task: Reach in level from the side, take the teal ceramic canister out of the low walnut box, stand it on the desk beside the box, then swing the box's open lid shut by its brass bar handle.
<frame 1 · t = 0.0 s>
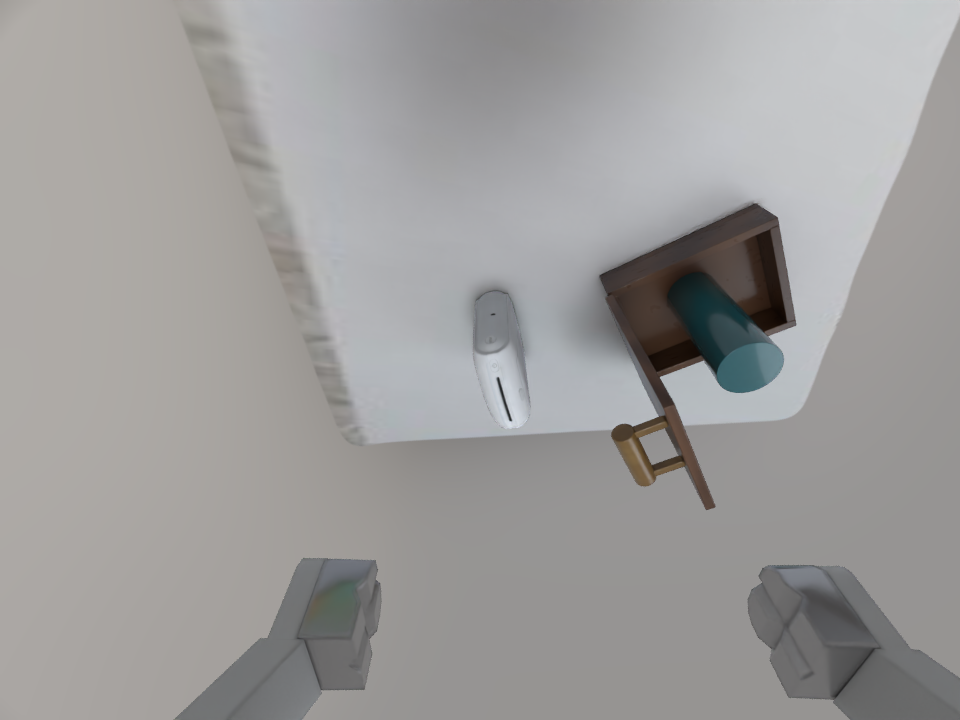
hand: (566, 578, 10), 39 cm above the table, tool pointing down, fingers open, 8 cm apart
chest: (689, 291, 49), on the table
lid: (632, 402, 41), point 13 cm above the table, hinge at 88.0°
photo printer: (500, 328, 52), on the table
canister: (692, 294, 48), point 1 cm above the table, touching chest
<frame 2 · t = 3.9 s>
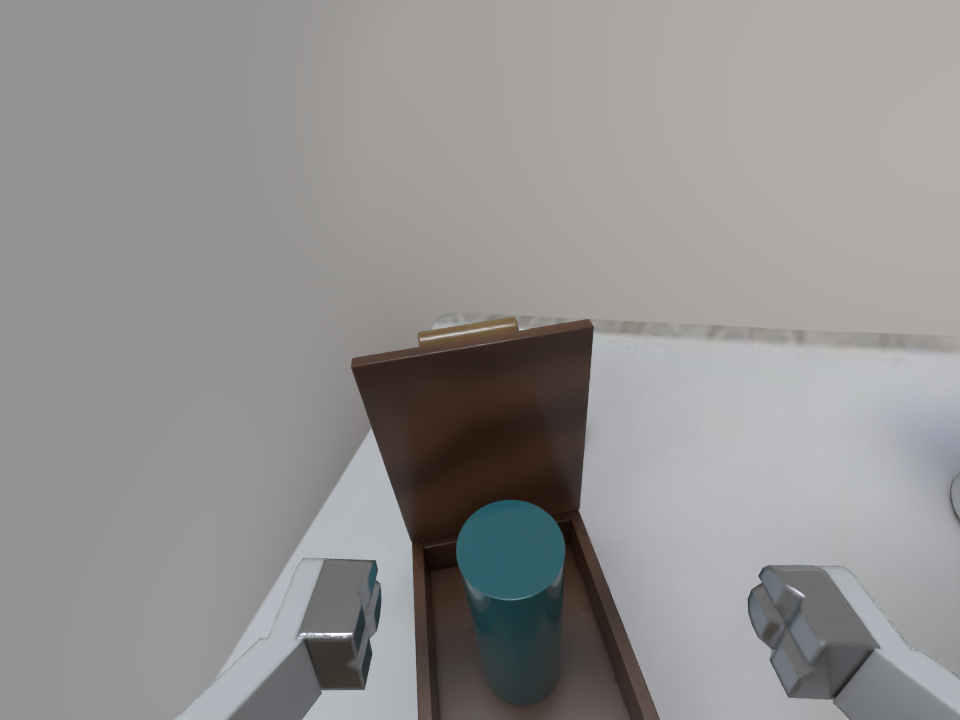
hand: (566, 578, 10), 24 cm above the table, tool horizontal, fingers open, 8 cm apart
chest: (521, 662, 30), on the table
lid: (481, 423, 30), point 13 cm above the table, hinge at 88.0°
canister: (521, 657, 29), point 1 cm above the table, touching chest
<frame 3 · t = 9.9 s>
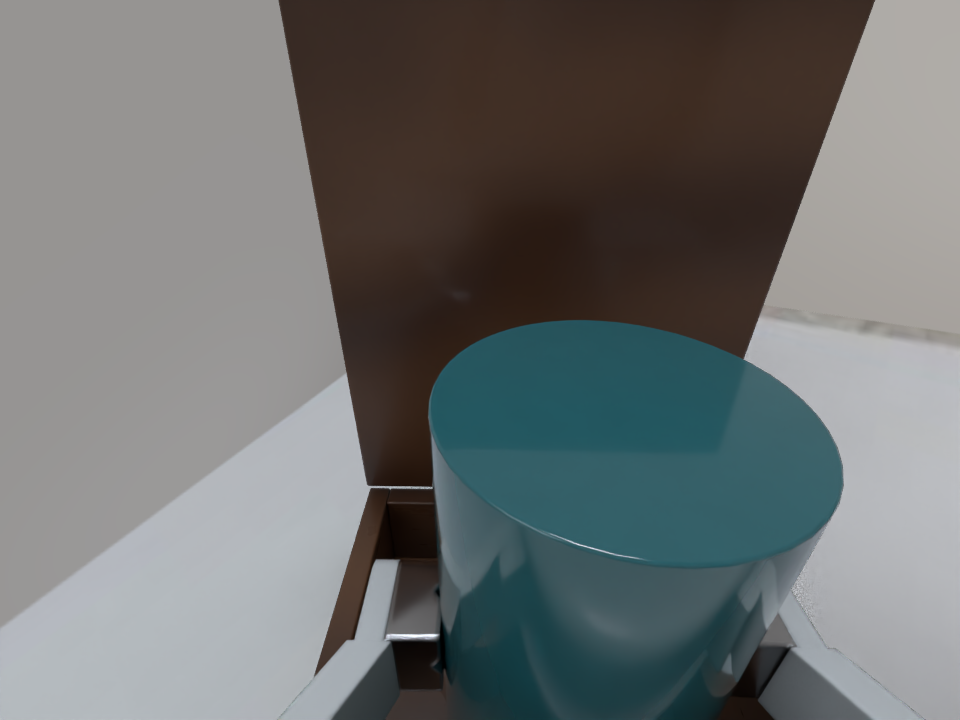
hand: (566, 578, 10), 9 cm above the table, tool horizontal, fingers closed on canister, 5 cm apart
lid: (540, 259, 15), point 13 cm above the table, hinge at 88.0°
when the fingers open (8 cm above the table, at t = 17.2 s): canister stays where it is, on the table.
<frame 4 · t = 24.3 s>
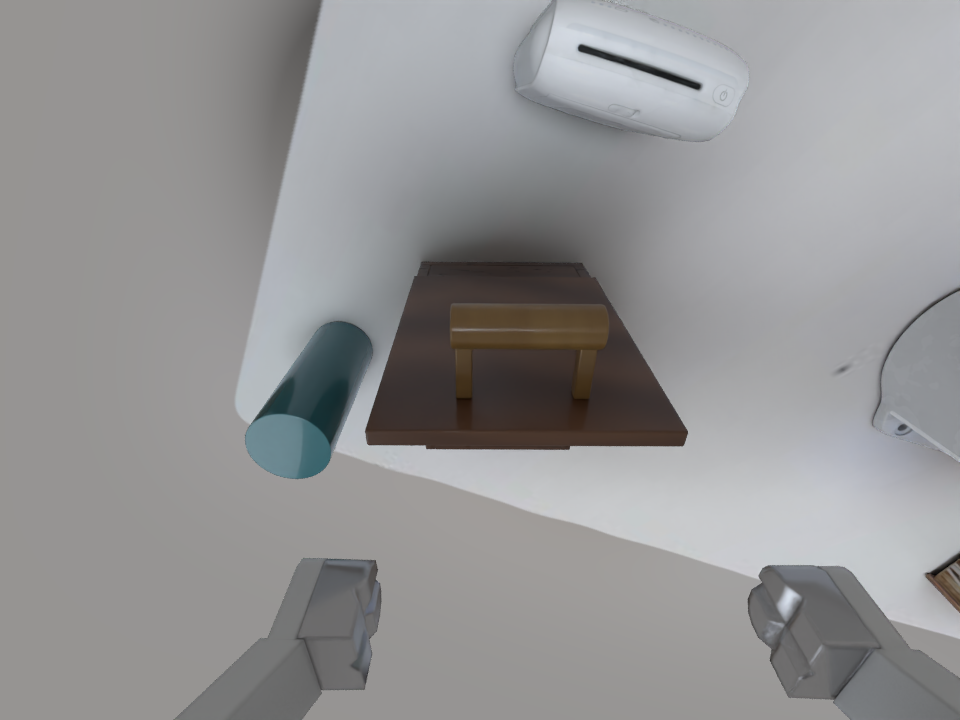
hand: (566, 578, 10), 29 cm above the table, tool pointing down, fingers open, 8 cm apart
chest: (498, 349, 39), on the table
lid: (514, 302, 24), point 13 cm above the table, hinge at 88.0°
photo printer: (589, 82, 30), on the table
canister: (342, 348, 39), on the table
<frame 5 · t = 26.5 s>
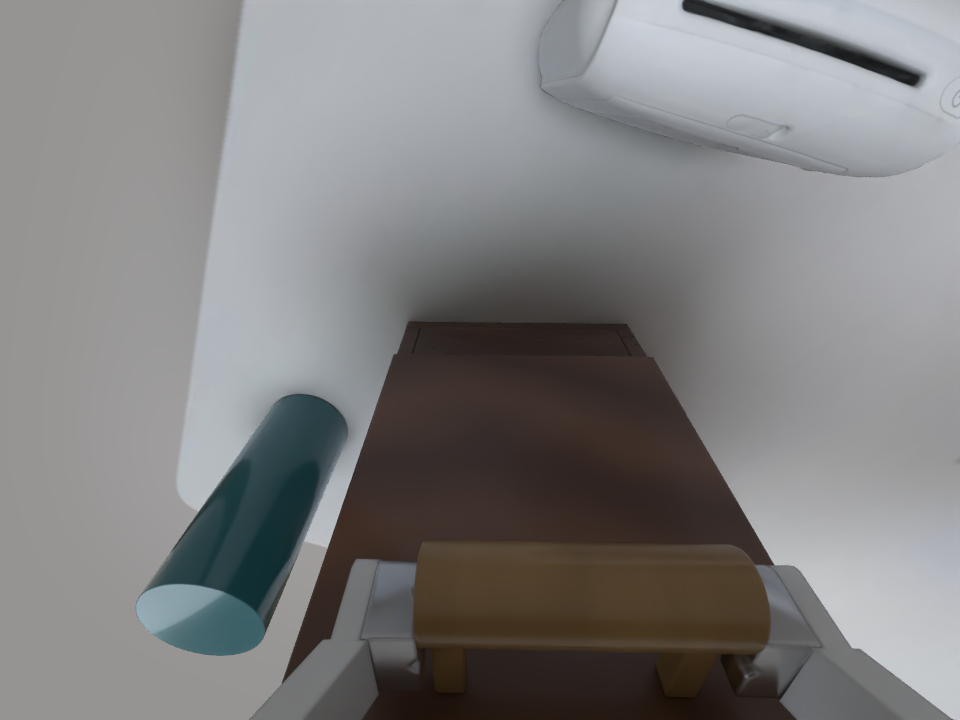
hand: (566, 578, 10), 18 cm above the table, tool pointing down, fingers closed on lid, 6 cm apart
chest: (512, 429, 30), on the table
lid: (542, 444, 14), point 13 cm above the table, hinge at 88.0°, touching gripper
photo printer: (649, 74, 20), on the table
canister: (308, 426, 30), on the table
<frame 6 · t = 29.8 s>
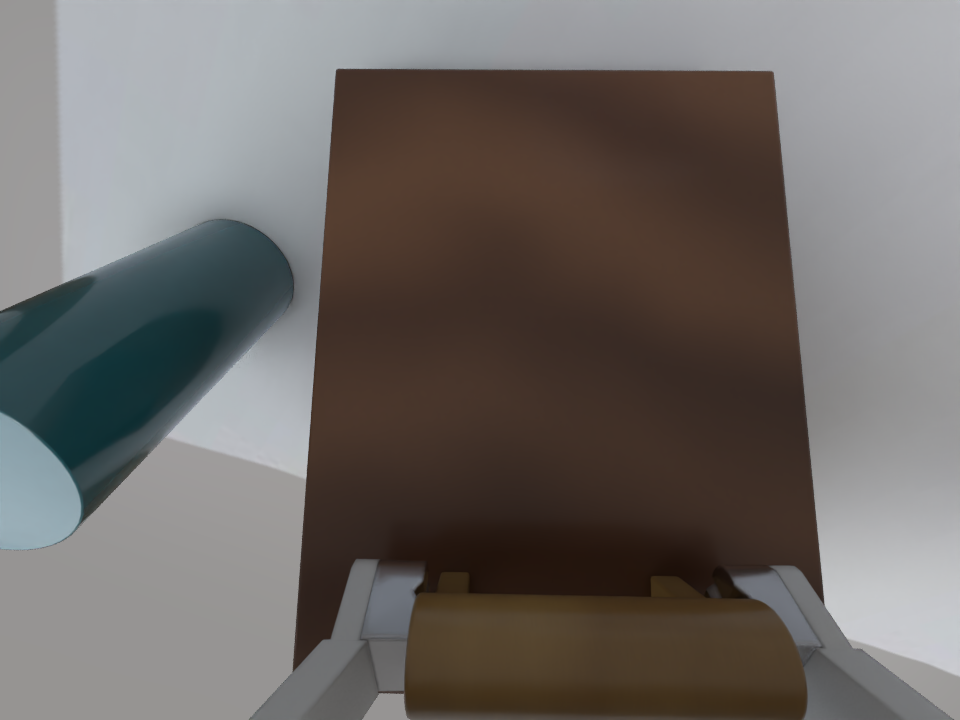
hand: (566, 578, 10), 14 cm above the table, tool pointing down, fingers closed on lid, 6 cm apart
lid: (568, 336, 10), point 11 cm above the table, hinge at 38.8°, touching gripper
canister: (237, 275, 21), on the table
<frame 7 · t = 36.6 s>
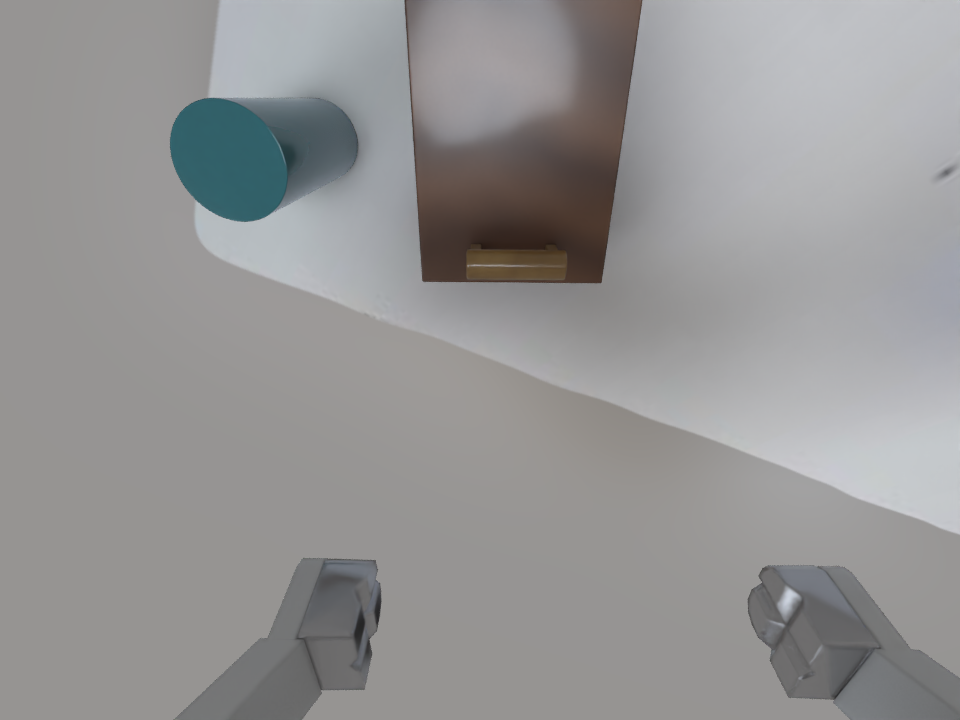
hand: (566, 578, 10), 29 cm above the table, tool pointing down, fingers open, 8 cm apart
lid: (518, 158, 26), point 7 cm above the table, hinge at -0.2°
canister: (320, 140, 32), on the table
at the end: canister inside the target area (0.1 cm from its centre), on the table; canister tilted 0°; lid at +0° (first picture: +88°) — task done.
